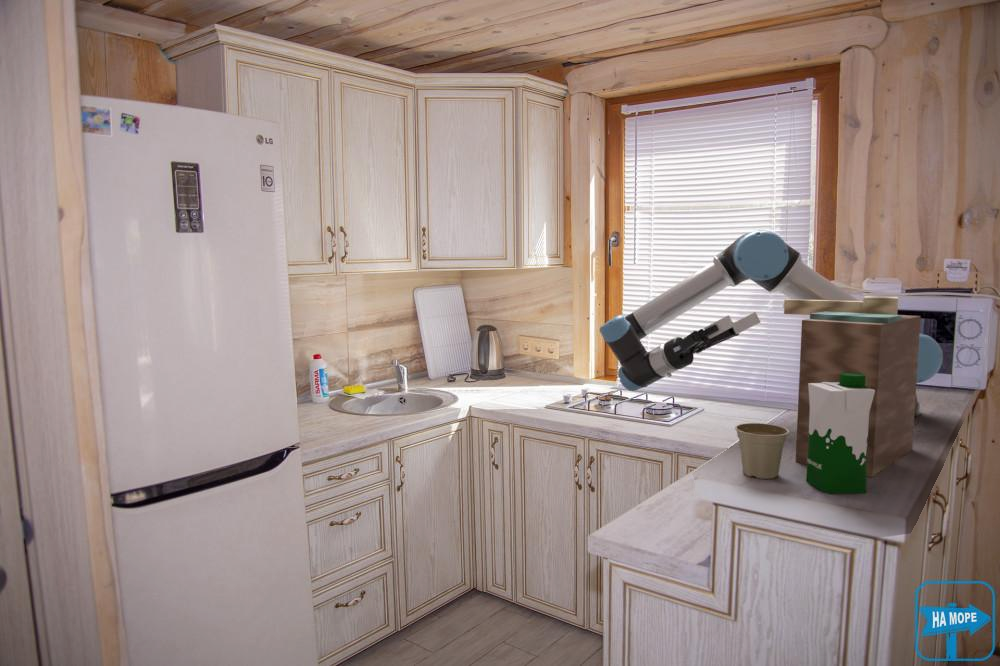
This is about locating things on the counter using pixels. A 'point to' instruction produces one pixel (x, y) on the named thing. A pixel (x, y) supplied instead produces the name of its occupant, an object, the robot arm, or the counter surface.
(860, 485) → the milk carton
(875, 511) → the counter surface
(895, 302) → the oak bar
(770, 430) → the flower pot
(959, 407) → the counter surface
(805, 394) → the walnut shelf
